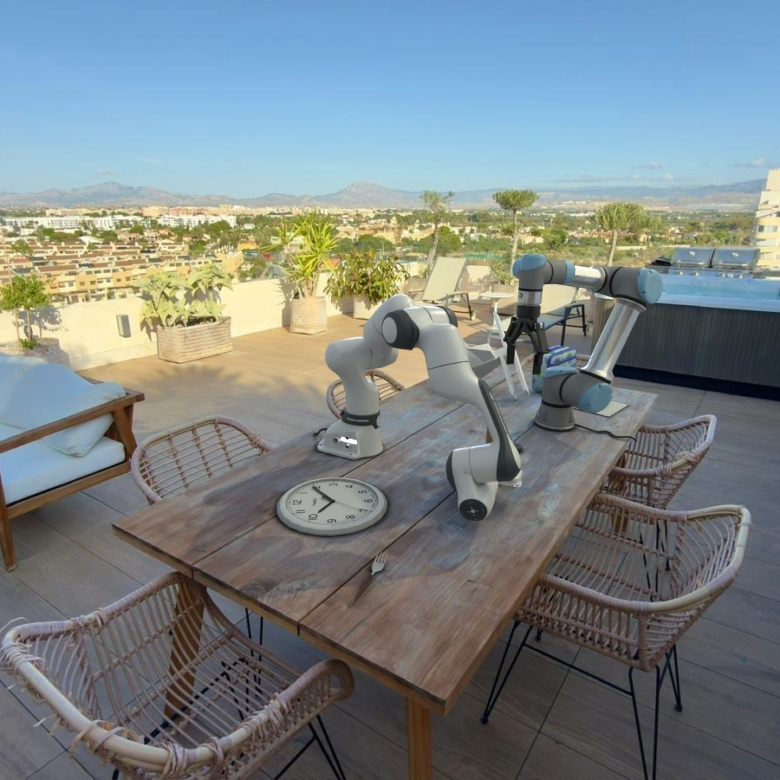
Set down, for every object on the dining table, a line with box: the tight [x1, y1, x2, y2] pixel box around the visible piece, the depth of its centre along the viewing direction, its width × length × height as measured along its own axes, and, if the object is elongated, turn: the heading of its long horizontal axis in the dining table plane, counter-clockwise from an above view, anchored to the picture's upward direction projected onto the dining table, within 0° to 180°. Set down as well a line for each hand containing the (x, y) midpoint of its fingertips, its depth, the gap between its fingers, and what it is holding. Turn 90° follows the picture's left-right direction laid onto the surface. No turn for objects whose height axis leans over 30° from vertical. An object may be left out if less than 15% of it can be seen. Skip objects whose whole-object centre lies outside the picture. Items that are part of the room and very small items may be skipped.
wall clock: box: [276, 476, 388, 537], centre depth 142 cm, size 30×2×30 cm
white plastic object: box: [463, 310, 531, 400], centre depth 245 cm, size 37×45×31 cm
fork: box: [354, 550, 388, 603], centre depth 112 cm, size 3×16×2 cm, turn 160°
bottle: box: [485, 426, 493, 444], centre depth 164 cm, size 5×5×18 cm
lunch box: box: [531, 345, 577, 394], centre depth 245 cm, size 26×11×21 cm, turn 134°
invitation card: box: [573, 400, 629, 418], centre depth 226 cm, size 21×1×15 cm
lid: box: [513, 442, 524, 454], centre depth 180 cm, size 5×5×2 cm
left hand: (488, 462), depth 155 cm, fingers open, 8 cm apart
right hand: (522, 369), depth 172 cm, fingers open, 13 cm apart
